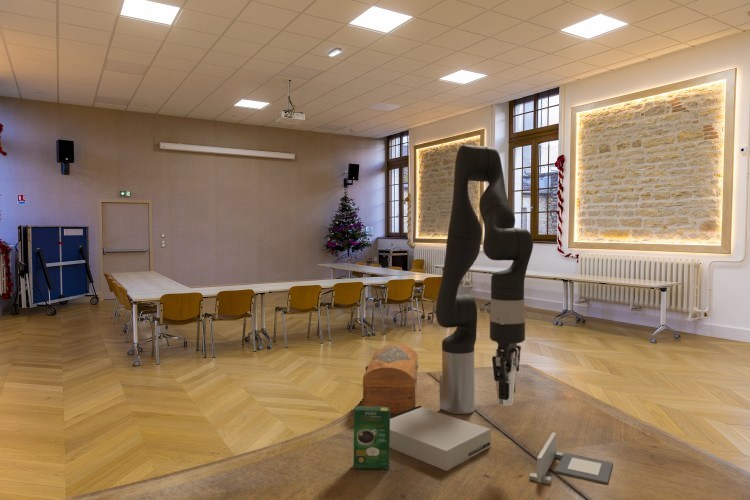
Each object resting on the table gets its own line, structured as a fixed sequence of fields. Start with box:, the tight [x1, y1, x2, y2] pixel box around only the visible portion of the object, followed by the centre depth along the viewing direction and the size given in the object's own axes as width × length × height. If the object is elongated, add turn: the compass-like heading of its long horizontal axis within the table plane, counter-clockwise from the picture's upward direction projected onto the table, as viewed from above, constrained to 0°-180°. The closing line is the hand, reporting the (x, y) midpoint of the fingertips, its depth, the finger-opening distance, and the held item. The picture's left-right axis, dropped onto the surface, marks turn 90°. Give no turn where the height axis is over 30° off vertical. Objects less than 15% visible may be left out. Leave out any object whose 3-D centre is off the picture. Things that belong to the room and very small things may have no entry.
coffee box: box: [353, 405, 391, 471], centre depth 108 cm, size 8×3×13 cm, turn 86°
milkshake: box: [495, 359, 521, 407], centre depth 109 cm, size 4×5×10 cm
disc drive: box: [389, 405, 492, 472], centre depth 120 cm, size 18×22×5 cm
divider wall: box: [528, 431, 564, 485], centre depth 107 cm, size 4×15×5 cm, turn 149°
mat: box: [555, 452, 613, 485], centre depth 106 cm, size 10×10×1 cm
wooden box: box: [362, 343, 419, 415], centre depth 154 cm, size 30×16×14 cm, turn 173°
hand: (506, 395), depth 109 cm, fingers closed on milkshake, 4 cm apart
